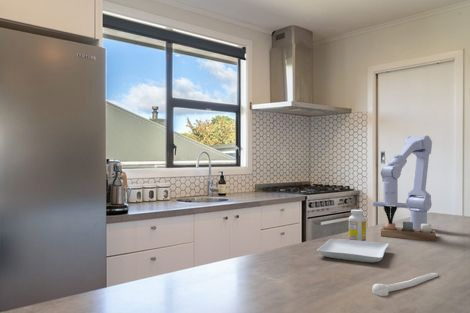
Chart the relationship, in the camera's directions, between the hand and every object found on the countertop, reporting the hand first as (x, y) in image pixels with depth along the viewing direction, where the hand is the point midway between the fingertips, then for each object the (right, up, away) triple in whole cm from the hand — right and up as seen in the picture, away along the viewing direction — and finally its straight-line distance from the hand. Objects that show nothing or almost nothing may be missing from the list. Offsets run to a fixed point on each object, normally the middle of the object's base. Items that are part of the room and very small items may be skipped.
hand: (390, 223), depth 167 cm
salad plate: (-27, -6, -34) cm, 44 cm away
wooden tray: (+6, -5, -3) cm, 8 cm away
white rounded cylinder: (+13, -3, -6) cm, 14 cm away
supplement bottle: (-19, -5, -14) cm, 25 cm away
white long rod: (-22, -6, -64) cm, 68 cm away
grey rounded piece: (+6, -2, -3) cm, 7 cm away
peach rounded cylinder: (0, -3, 0) cm, 3 cm away
